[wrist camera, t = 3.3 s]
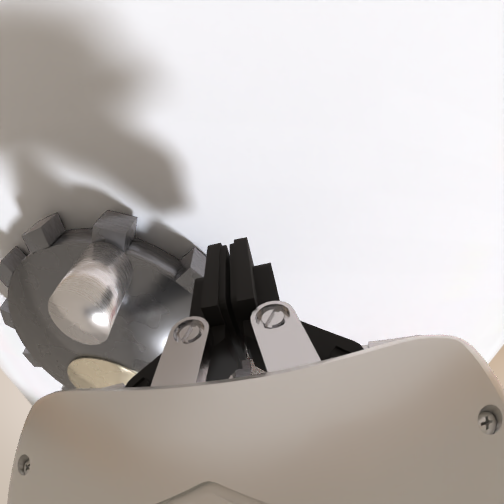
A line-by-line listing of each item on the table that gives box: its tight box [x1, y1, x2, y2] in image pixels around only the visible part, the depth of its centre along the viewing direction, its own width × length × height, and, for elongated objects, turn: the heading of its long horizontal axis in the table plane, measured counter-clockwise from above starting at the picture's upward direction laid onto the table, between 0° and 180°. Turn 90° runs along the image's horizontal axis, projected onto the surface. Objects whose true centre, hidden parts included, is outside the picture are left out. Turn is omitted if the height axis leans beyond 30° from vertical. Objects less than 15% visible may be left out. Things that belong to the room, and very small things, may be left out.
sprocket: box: [0, 210, 251, 390], centre depth 16 cm, size 20×20×6 cm
